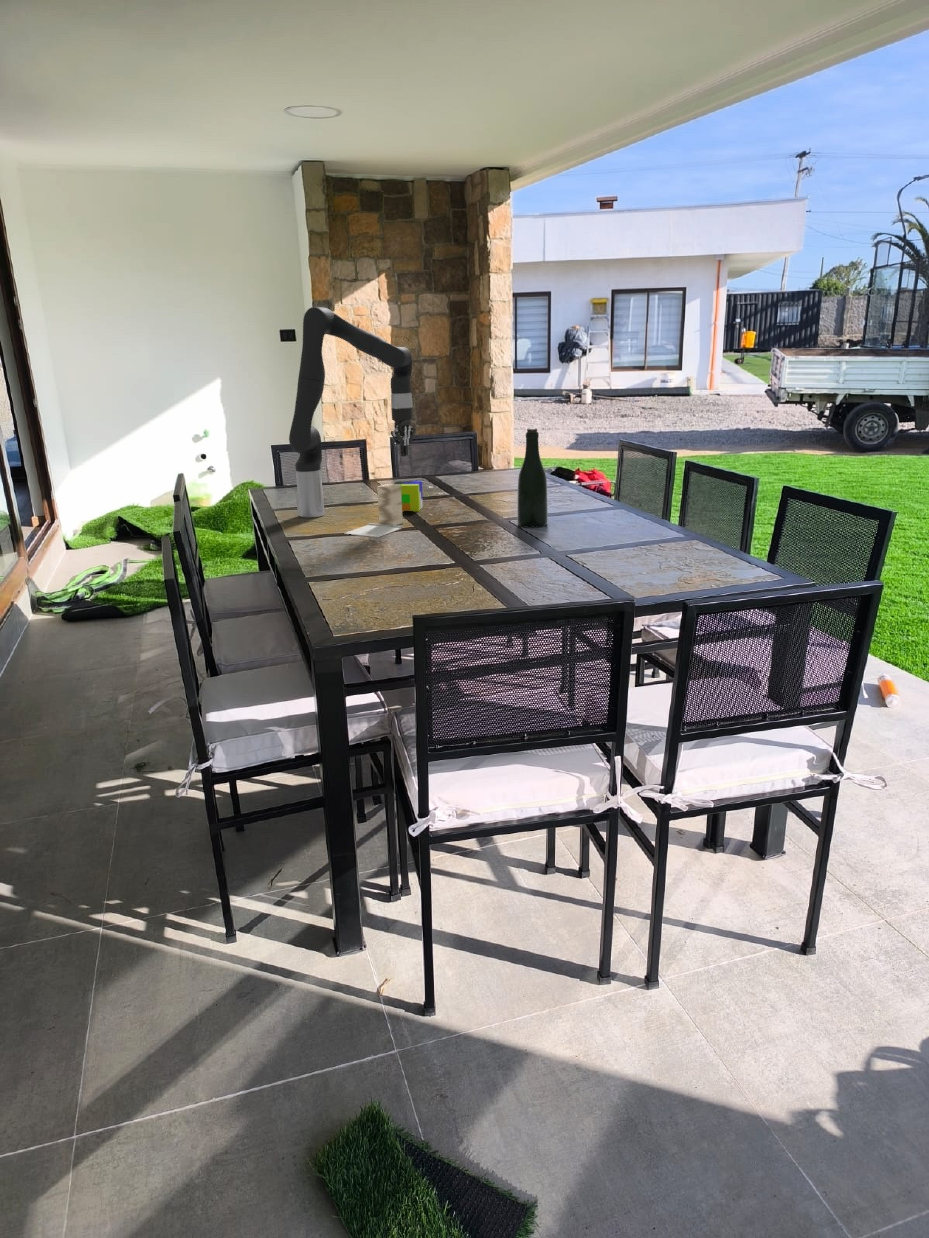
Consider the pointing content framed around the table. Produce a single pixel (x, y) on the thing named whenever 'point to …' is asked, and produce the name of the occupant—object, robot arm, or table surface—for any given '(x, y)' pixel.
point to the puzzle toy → (411, 495)
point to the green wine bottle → (532, 486)
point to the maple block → (390, 504)
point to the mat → (374, 530)
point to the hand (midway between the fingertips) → (404, 456)
